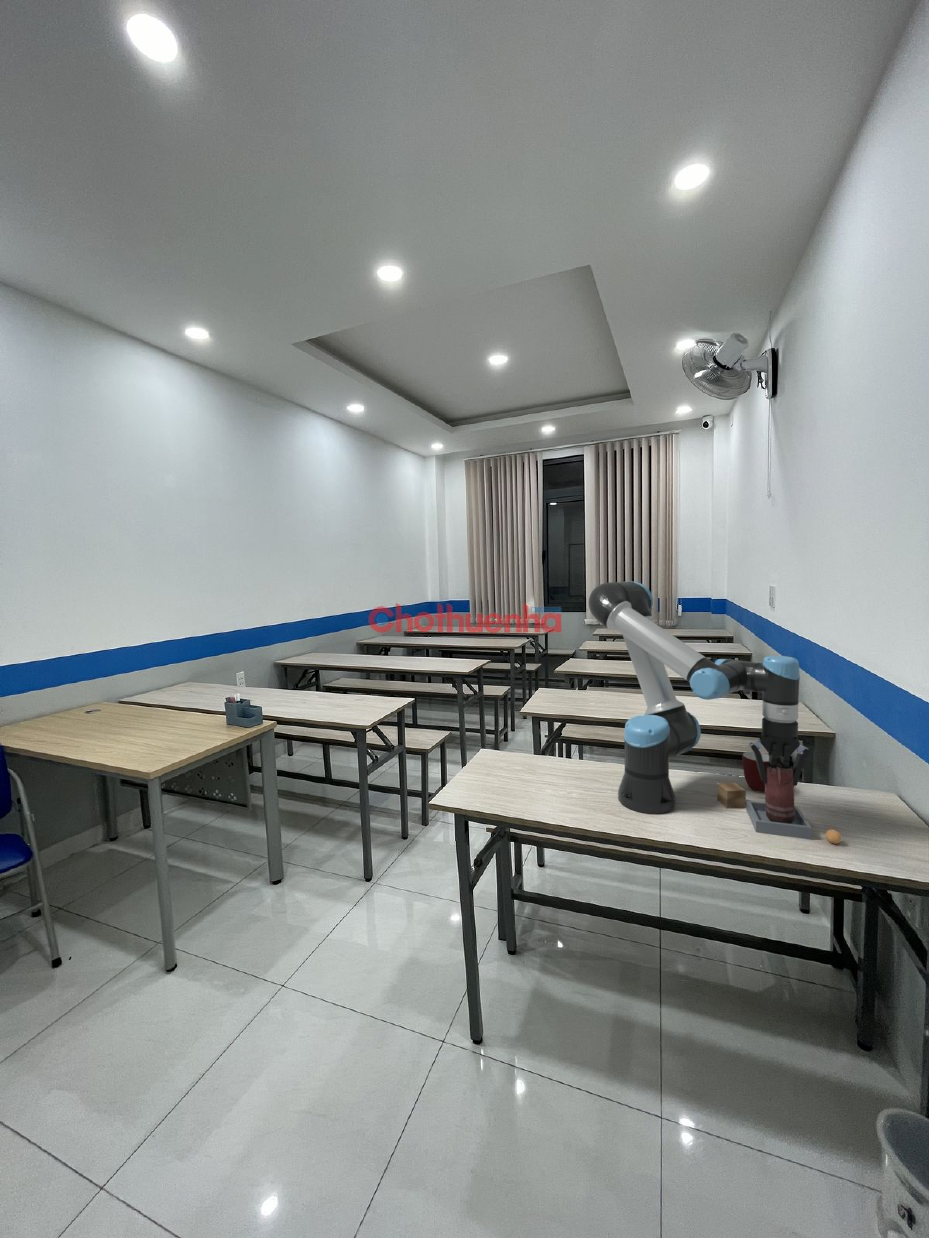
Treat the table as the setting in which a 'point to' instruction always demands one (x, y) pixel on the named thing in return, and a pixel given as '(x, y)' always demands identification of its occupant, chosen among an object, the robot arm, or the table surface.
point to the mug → (753, 771)
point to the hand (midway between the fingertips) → (777, 810)
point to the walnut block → (731, 795)
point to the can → (779, 794)
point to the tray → (764, 825)
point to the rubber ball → (833, 836)
